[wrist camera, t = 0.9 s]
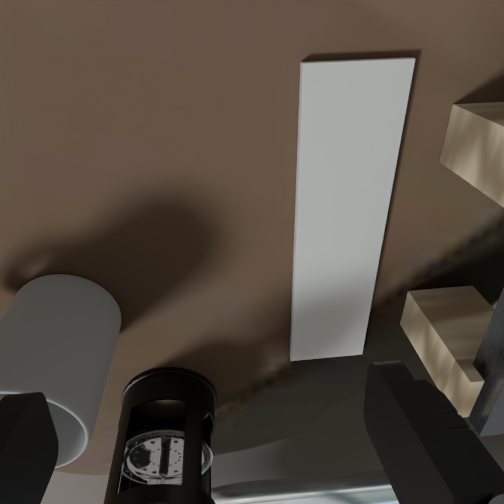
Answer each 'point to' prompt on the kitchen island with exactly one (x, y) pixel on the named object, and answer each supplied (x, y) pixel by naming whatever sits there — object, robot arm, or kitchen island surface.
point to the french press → (164, 442)
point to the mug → (61, 352)
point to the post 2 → (449, 338)
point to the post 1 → (477, 146)
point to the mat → (343, 197)
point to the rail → (491, 377)
